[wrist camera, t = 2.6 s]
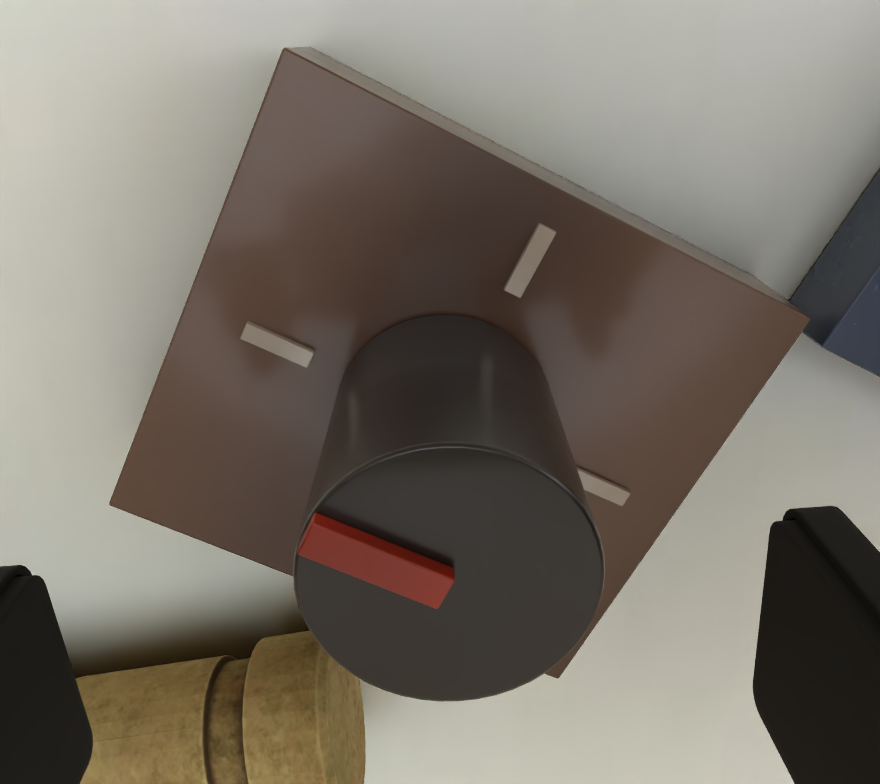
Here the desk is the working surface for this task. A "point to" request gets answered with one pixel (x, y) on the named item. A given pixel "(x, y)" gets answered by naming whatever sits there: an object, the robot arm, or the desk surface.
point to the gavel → (229, 719)
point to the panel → (435, 293)
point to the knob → (447, 518)
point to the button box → (848, 287)
